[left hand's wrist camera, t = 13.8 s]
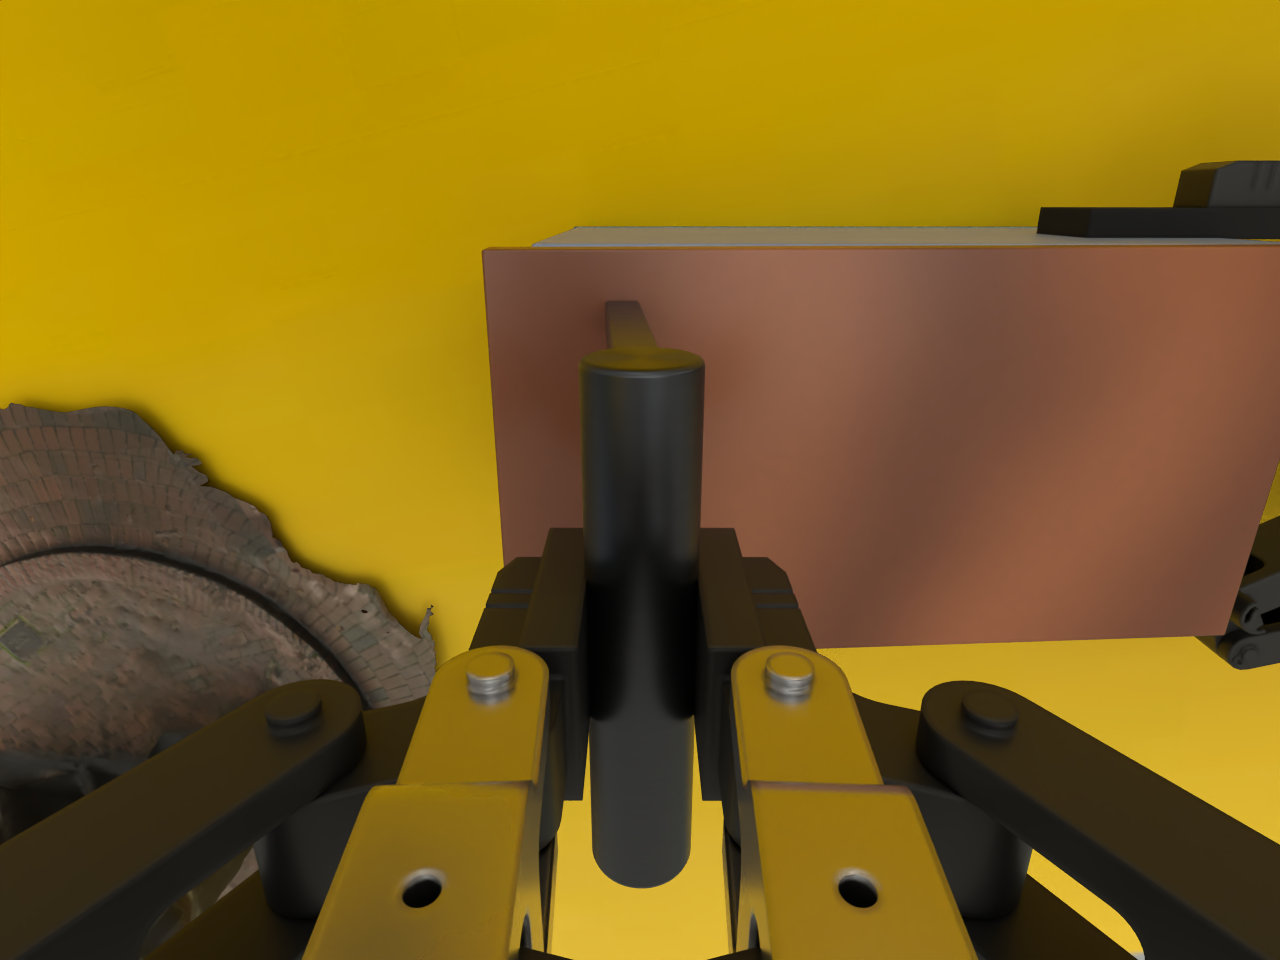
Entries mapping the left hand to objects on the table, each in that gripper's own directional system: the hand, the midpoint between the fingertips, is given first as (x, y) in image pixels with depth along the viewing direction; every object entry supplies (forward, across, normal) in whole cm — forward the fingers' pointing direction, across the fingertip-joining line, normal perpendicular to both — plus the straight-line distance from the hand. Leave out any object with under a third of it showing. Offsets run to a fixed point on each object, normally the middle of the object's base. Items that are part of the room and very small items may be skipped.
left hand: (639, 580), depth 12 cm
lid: (+6, -6, 0) cm, 9 cm away
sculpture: (+18, +22, +19) cm, 35 cm away
